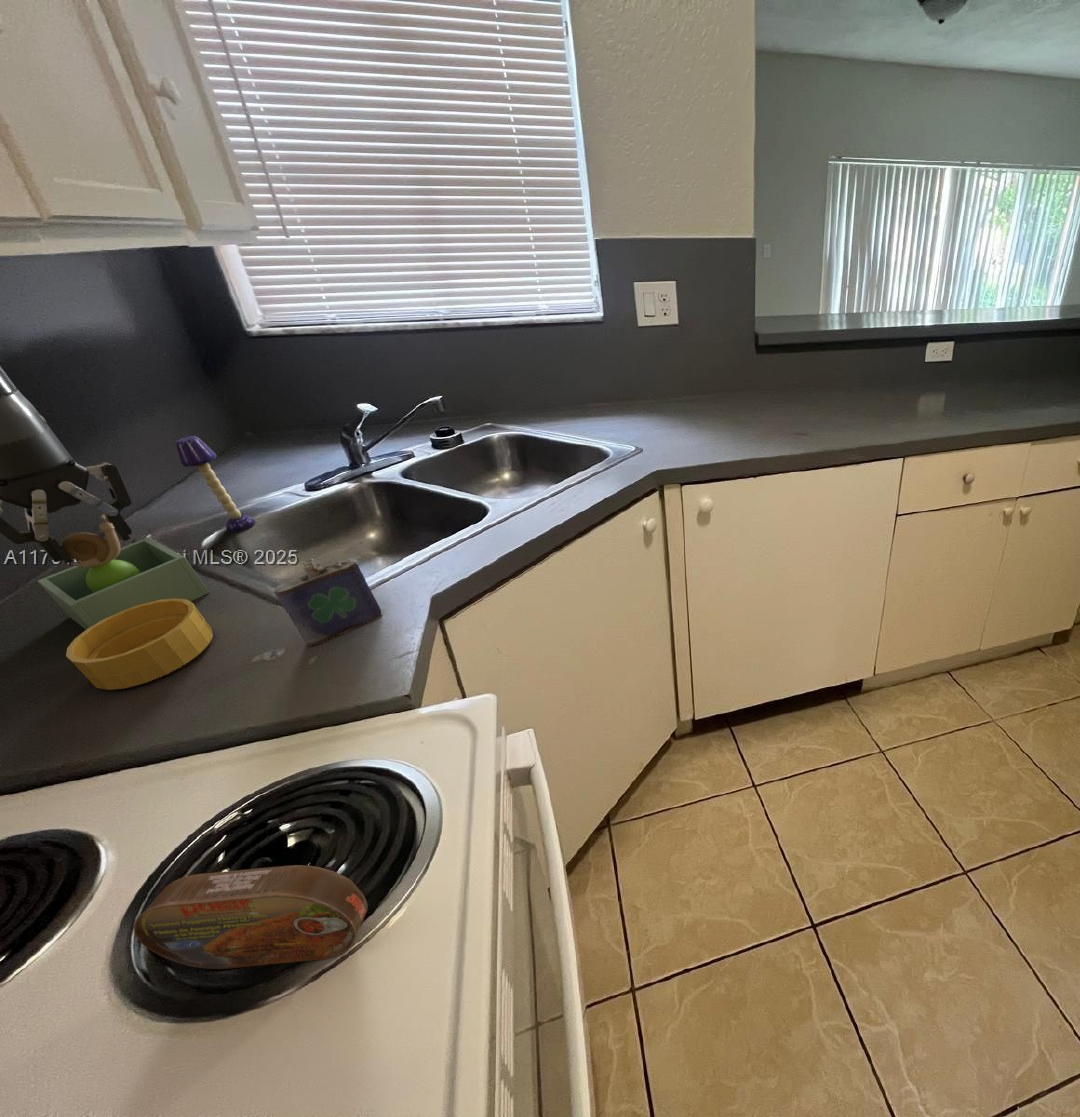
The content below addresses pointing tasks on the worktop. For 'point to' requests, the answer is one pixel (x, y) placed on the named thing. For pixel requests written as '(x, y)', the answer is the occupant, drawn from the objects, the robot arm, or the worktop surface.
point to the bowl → (140, 643)
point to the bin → (126, 584)
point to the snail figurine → (99, 556)
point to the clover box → (328, 600)
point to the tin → (253, 917)
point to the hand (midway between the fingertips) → (96, 549)
